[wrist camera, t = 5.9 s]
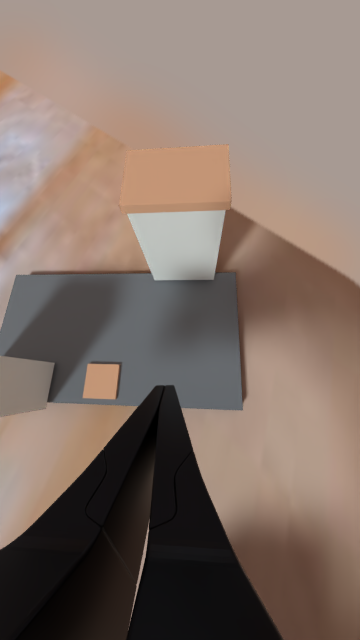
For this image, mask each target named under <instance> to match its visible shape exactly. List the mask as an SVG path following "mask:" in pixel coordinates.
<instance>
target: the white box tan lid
mask: <svg viewBox="0 0 360 640" xmlns="http://www.w3.org/2000/svg"><path fill="white" fill-rule="evenodd" d="M230 206H231V183H230V164H229V146H228V144H226V145H210V146H193V147H177V148H160V149H144V150H127V152H126V160H125V167H124V174H123V181H122V188H121V195H120V202H119V207H120V209H121V212H122V214H128V217H129V219H130V222H131V224H132V227H133V229H134V231H135V234H136V236H137V239H138V241H139V244H140V246H141V248H142V251H143V253H144V256H145V258H146V261H147V263H148V265H149V268H150V270H151V273H152V275H153V278H154V280H214V275H215V269H216V264H217V258H218V252H219V246H220V240H221V234H222V229H223V223H224V217H225V211H226V210H230Z"/></svg>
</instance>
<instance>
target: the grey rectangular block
mask: <svg viewBox="0 0 360 640" xmlns="http://www.w3.org/2000/svg"><path fill="white" fill-rule="evenodd" d="M54 364H55V363H52V362H44V361H37V360H29V359H21V358H14V357H6V356H0V417H2V416H8V415H13V414H19V413H24V412H30V411H35V410H41V409H46V404H47V399H48V394H49V389H50V384H51V379H52V374H53V369H54Z"/></svg>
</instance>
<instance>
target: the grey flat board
mask: <svg viewBox="0 0 360 640" xmlns="http://www.w3.org/2000/svg"><path fill="white" fill-rule="evenodd" d="M0 356H6V357H14V358H21V359H29V360H37V361H44V362H52V363H55V364H54V369H53V374H52V379H51V384H50V389H49V394H48V399H47V402H53V403H77V404H101V405H125V406H139V405H140V404H141V403H142V401H143V400H144V399H145V398H146V397H147V395H148V394H149V393H150V392H151V391H152V389H153V388H154V387H155V386H156V385H164V386H166V385H174V386H175V389H176V393H177V396H178V399H179V403H180V406H181V408H197V409H221V410H243V405H242V386H241V367H240V348H239V329H238V309H237V290H236V272H233V273H215V275H214V280H154V278H153V275H152V273H146V274H59V275H16V278H15V281H14V285H13V288H12V292H11V295H10V299H9V302H8V306H7V310H6V313H5V317H4V320H3V324H2V327H1V331H0Z"/></svg>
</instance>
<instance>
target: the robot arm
mask: <svg viewBox="0 0 360 640" xmlns="http://www.w3.org/2000/svg"><path fill="white" fill-rule="evenodd" d="M149 518H150V521H149ZM148 524H149V533H148V543H147V551H146V558H145V562H144V567H143V571H142V575H141V579H140V583H139V588H138V592H137V596H136V600H135V604H134V609H133V613H132V608H133V602H134V597H135V592H136V584H137V581H138V576H139V571H140V565H141V560H142V555H143V550H144V545H145V539H146V534H147V529H148ZM131 613H132V617H131ZM130 618H131V621H130ZM129 623H130V625H129ZM128 628H129V630H128ZM0 640H284V639H283V637H282V636H281V634H280V632H279V631H278V629H277V627H276V625H275V624H274V622H273V620H272V618H271V617H270V615H269V613H268V611H267V610H266V608H265V606H264V604H263V603H262V601H261V599H260V597H259V596H258V594H257V592H256V590H255V589H254V587H253V585H252V583H251V582H250V580H249V578H248V576H247V575H246V573H245V571H244V570H243V568H242V566H241V564H240V562H239V560H238V558H237V556H236V554H235V552H234V550H233V548H232V546H231V544H230V541H229V539H228V537H227V535H226V532H225V530H224V528H223V526H222V523H221V521H220V519H219V516H218V514H217V512H216V509H215V507H214V505H213V503H212V500H211V498H210V496H209V493H208V491H207V488H206V486H205V483H204V481H203V479H202V476H201V473H200V470H199V467H198V464H197V461H196V457H195V454H194V452H193V447H192V444H191V440H190V437H189V434H188V430H187V427H186V423H185V420H184V417H183V413H182V410H181V406H180V403H179V399H178V396H177V393H176V389H175V386H174V385H166V386H164V385H156V386H155V387H154V388H153V389H152V391H151V392H150V393H149V394H148V395H147V397H146V398H145V399H144V400H143V401H142V403H141V404H140V405H139V406H138V407H137V409H136V410H135V411H134V412H133V413H132V415H131V416H130V417H129V418H128V420H127V421H126V422H125V423H124V424H123V426H122V427H121V428H120V429H119V430H118V432H117V433H116V434H115V435H114V436H113V438H112V439H111V440H110V441H109V442H108V444H107V445H106V446H105V447H104V450H102V451H101V452H100V453H99V454H98V455H97V457H96V458H95V459H94V460H93V461H92V463H91V464H90V465H89V466H88V467H87V468H86V469H85V471H84V472H83V473H82V474H81V475H80V476H79V477H78V478H77V479H76V480H75V481H74V482H73V483H72V485H71V486H70V487H69V488H68V489H67V490H66V491H65V492H64V493H63V494H62V495H61V496H60V497H59V498H58V499H57V500H56V501H55V502H54V503H53V504H52V505H51V506H50V507H49V508H48V509H47V510H46V511H45V512H44V513H43V514H42V515H41V516H40V517H39V518H38V519H37V520H36V521H35V522H34V523H33V524H32V525H31V526H30V527H29V528H28V529H27V530H26V531H25V532H24V533H23V534H22V535H20V536H19V537H18V538H17V539H15V540H14V541H13V542H11V543H10V544H9V545H7V546H6V547H4V548H2V549H1V550H0Z"/></svg>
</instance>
